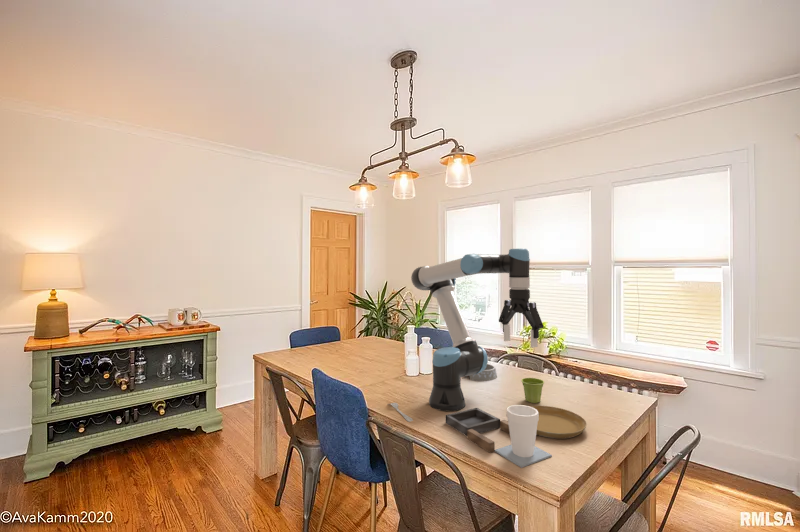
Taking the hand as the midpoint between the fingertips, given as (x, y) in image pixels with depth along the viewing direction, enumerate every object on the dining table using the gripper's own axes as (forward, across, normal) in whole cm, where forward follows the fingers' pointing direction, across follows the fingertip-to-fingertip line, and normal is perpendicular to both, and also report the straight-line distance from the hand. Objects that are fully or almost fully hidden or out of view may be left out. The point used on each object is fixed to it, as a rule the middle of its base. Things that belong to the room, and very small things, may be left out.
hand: (520, 343), depth 141 cm
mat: (+29, -20, +20) cm, 40 cm away
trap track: (+29, -1, +20) cm, 35 cm away
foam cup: (+28, -20, +20) cm, 40 cm away
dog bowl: (+29, +52, -24) cm, 64 cm away
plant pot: (+29, +11, -19) cm, 36 cm away
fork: (+29, +29, +37) cm, 56 cm away
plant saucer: (+29, -10, -4) cm, 31 cm away
